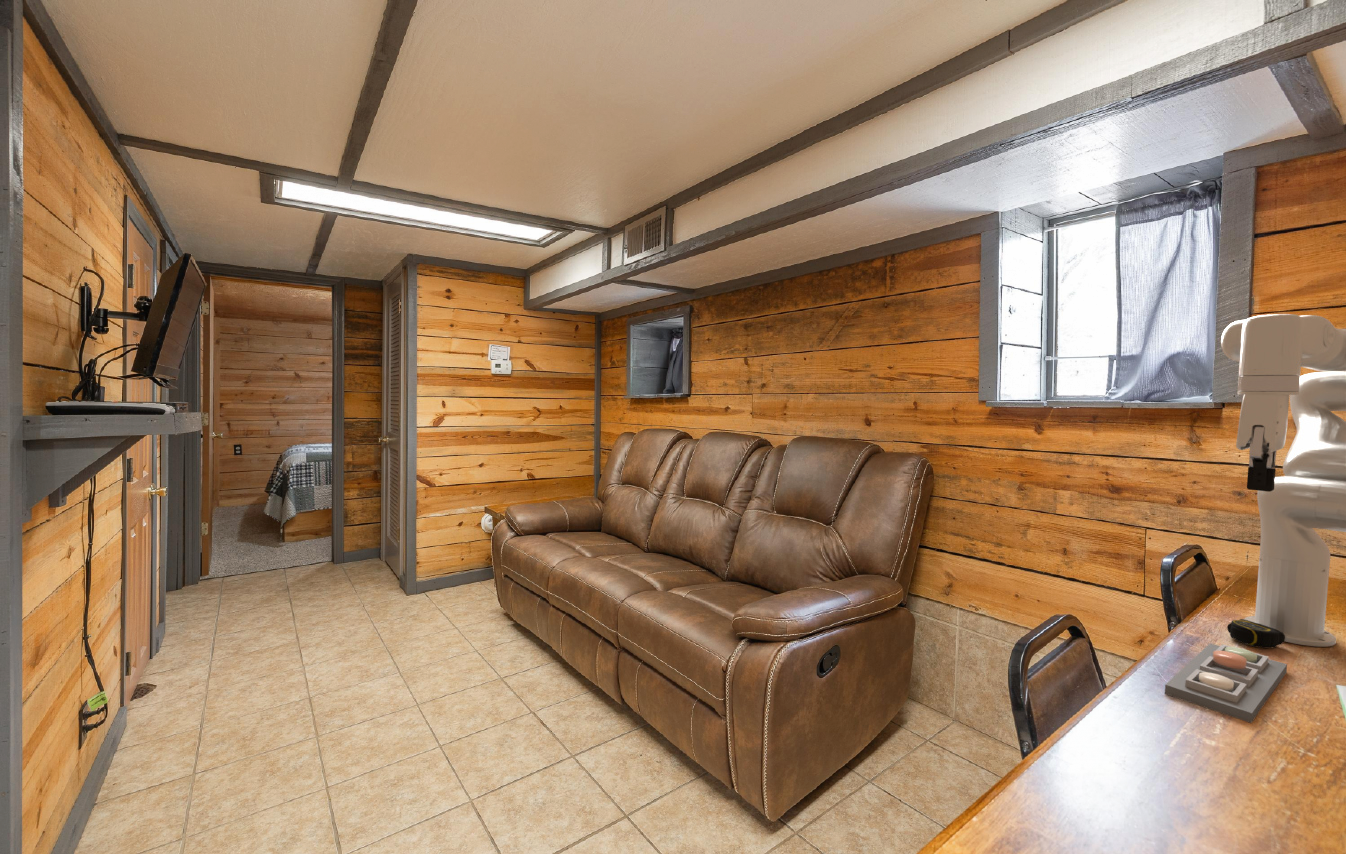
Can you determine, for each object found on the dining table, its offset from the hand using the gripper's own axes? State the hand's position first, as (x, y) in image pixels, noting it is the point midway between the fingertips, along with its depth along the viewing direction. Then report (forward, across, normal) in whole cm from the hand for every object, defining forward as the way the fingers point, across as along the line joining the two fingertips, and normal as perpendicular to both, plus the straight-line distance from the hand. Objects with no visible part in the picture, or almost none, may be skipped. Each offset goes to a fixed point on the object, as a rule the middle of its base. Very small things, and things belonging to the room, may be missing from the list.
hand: (1260, 489), depth 103 cm
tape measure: (+32, -11, -1) cm, 33 cm away
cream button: (+29, +22, 0) cm, 36 cm away
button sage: (+29, +6, 0) cm, 30 cm away
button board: (+31, +14, 0) cm, 34 cm away
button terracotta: (+28, +14, 0) cm, 31 cm away
